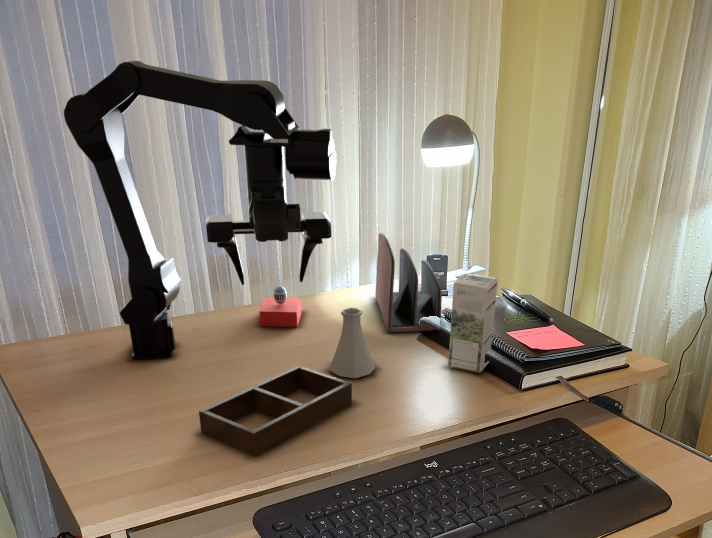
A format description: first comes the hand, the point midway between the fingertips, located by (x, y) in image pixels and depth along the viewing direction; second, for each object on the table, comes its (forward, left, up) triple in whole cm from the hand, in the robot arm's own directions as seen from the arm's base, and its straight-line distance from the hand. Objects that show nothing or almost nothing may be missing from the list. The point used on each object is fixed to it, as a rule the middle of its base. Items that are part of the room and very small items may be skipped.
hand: (272, 282), depth 122 cm
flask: (+12, -6, -13) cm, 19 cm away
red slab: (+2, +20, -13) cm, 24 cm away
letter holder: (+27, +19, -13) cm, 35 cm away
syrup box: (+31, -7, -13) cm, 35 cm away
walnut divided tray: (-1, -22, -13) cm, 26 cm away
